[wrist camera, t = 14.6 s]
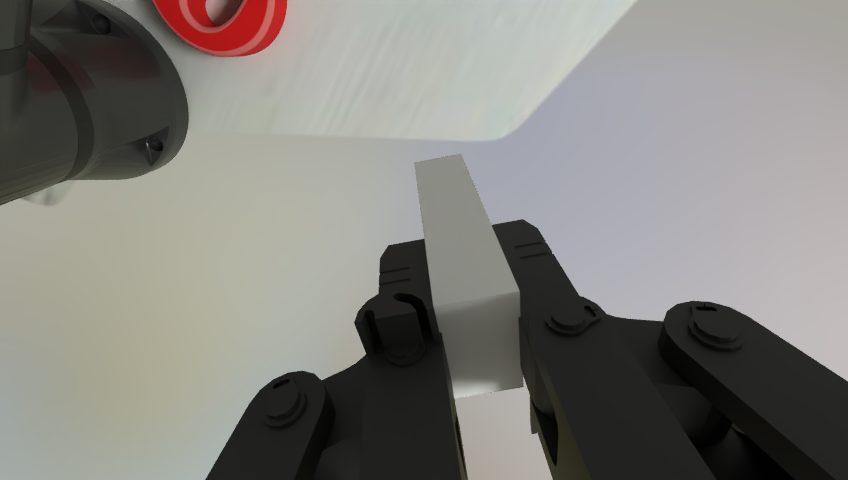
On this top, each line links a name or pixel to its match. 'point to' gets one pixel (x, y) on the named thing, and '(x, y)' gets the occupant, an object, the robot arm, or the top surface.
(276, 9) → the decorative ornament
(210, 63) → the top surface
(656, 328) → the robot arm
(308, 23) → the top surface
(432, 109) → the top surface
